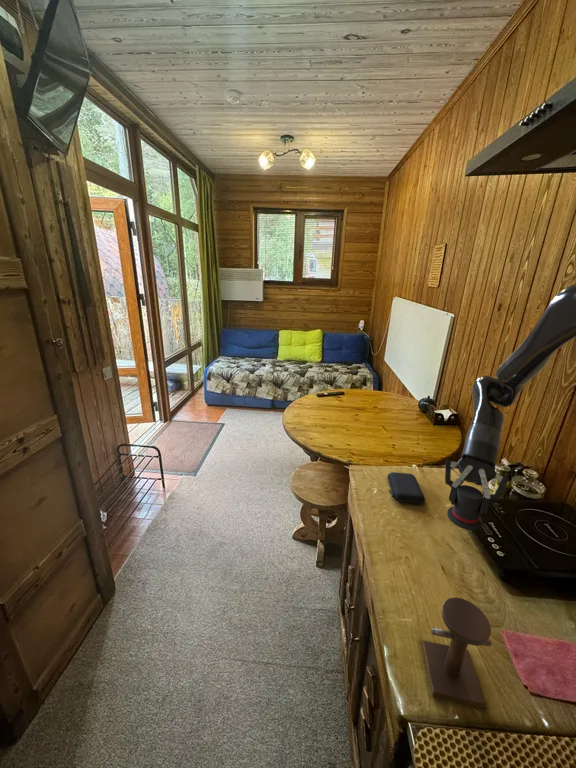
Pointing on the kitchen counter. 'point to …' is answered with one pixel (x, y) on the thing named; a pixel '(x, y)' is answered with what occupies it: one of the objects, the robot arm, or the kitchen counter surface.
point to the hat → (466, 508)
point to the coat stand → (457, 653)
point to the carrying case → (405, 488)
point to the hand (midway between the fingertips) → (466, 509)
